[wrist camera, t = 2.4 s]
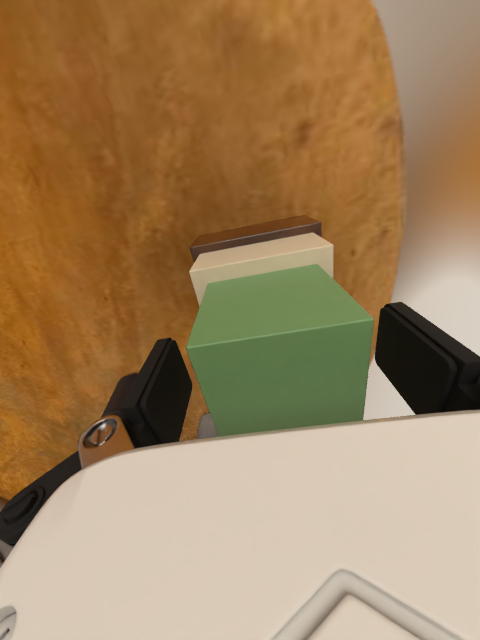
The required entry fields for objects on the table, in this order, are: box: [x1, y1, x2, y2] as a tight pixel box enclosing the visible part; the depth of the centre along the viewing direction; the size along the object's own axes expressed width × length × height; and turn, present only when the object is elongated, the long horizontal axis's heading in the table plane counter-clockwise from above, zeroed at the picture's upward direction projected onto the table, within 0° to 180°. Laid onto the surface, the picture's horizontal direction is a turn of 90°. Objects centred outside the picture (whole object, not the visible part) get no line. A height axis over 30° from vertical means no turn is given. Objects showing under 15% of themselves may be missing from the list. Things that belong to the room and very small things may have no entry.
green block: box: [186, 264, 374, 437], centre depth 10 cm, size 6×6×6 cm
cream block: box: [189, 233, 334, 306], centre depth 14 cm, size 7×7×4 cm
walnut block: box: [190, 215, 322, 263], centre depth 18 cm, size 8×8×4 cm
